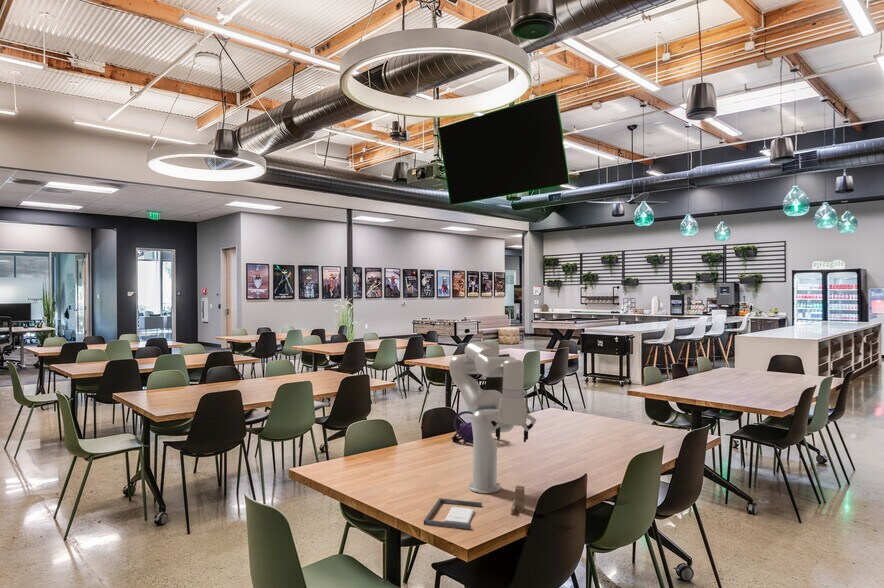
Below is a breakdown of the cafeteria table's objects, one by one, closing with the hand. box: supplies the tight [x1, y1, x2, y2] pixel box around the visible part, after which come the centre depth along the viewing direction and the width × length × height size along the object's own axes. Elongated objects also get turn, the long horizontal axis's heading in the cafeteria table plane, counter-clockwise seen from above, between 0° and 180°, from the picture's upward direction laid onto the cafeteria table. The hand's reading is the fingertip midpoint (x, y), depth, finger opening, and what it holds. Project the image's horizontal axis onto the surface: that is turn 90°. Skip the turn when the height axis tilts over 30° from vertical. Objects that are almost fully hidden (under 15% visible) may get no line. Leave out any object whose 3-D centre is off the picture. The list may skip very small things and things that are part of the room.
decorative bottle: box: [451, 404, 474, 444], centre depth 296 cm, size 22×21×25 cm
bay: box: [423, 498, 483, 530], centre depth 190 cm, size 22×16×1 cm
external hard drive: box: [443, 506, 475, 524], centre depth 188 cm, size 2×8×12 cm
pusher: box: [510, 485, 526, 516], centre depth 196 cm, size 11×4×8 cm, turn 167°
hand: (511, 440), depth 198 cm, fingers open, 9 cm apart
